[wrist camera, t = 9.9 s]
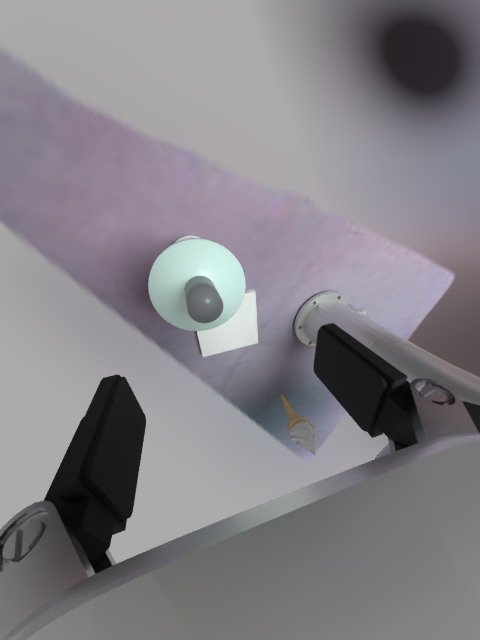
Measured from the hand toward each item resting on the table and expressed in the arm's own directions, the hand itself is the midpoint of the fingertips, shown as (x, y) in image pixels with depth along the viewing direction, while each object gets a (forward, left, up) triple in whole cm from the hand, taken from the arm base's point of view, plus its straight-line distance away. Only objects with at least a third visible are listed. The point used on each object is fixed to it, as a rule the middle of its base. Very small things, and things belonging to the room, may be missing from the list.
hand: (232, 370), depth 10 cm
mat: (-4, +12, -24) cm, 27 cm away
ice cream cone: (-15, +36, -24) cm, 46 cm away
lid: (0, 0, -12) cm, 12 cm away
